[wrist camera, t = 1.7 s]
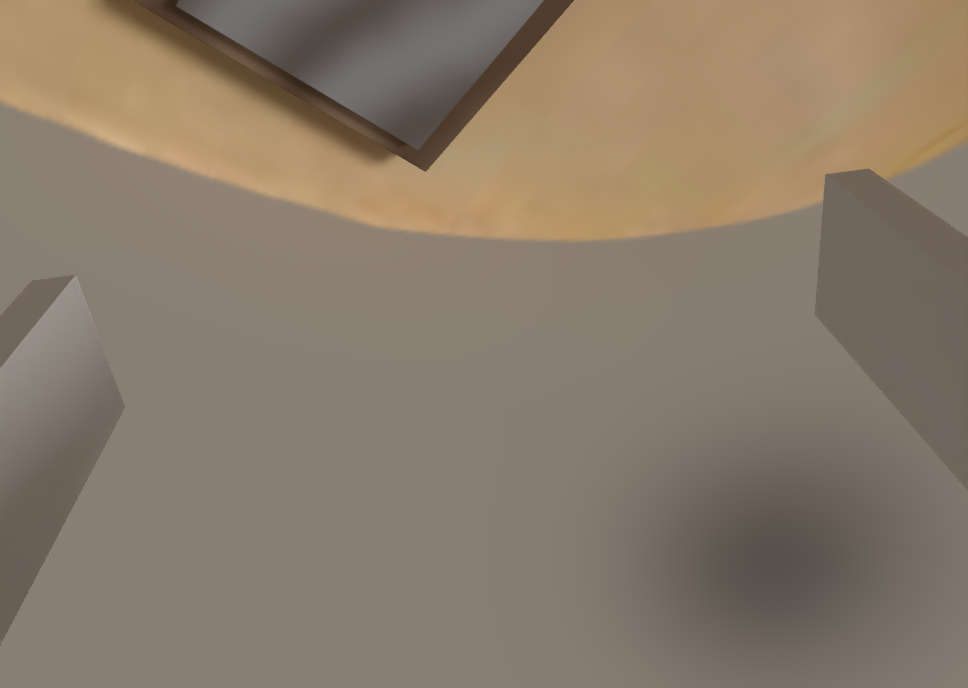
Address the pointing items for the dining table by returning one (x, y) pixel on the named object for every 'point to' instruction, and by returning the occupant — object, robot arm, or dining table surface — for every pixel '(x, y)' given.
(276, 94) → the dining table surface
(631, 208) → the dining table surface
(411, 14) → the plinth
